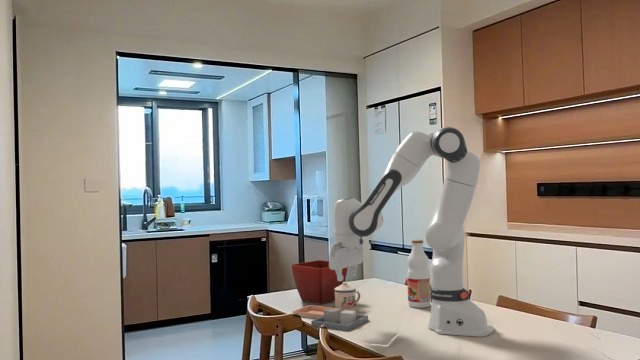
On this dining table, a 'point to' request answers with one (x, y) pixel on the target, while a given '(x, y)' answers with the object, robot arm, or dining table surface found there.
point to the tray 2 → (339, 326)
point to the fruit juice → (418, 277)
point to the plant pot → (316, 281)
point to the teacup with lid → (346, 297)
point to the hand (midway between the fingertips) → (346, 278)
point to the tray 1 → (312, 311)
